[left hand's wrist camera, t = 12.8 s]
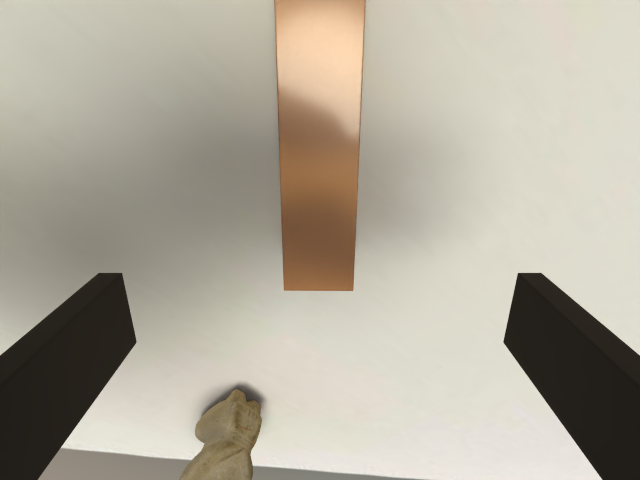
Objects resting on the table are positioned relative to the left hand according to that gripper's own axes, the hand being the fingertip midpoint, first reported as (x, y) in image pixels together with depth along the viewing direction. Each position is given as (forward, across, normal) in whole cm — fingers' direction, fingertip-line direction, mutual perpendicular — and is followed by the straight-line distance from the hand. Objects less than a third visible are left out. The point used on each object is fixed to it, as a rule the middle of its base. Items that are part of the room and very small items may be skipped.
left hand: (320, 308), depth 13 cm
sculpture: (+20, +9, +25) cm, 33 cm away
